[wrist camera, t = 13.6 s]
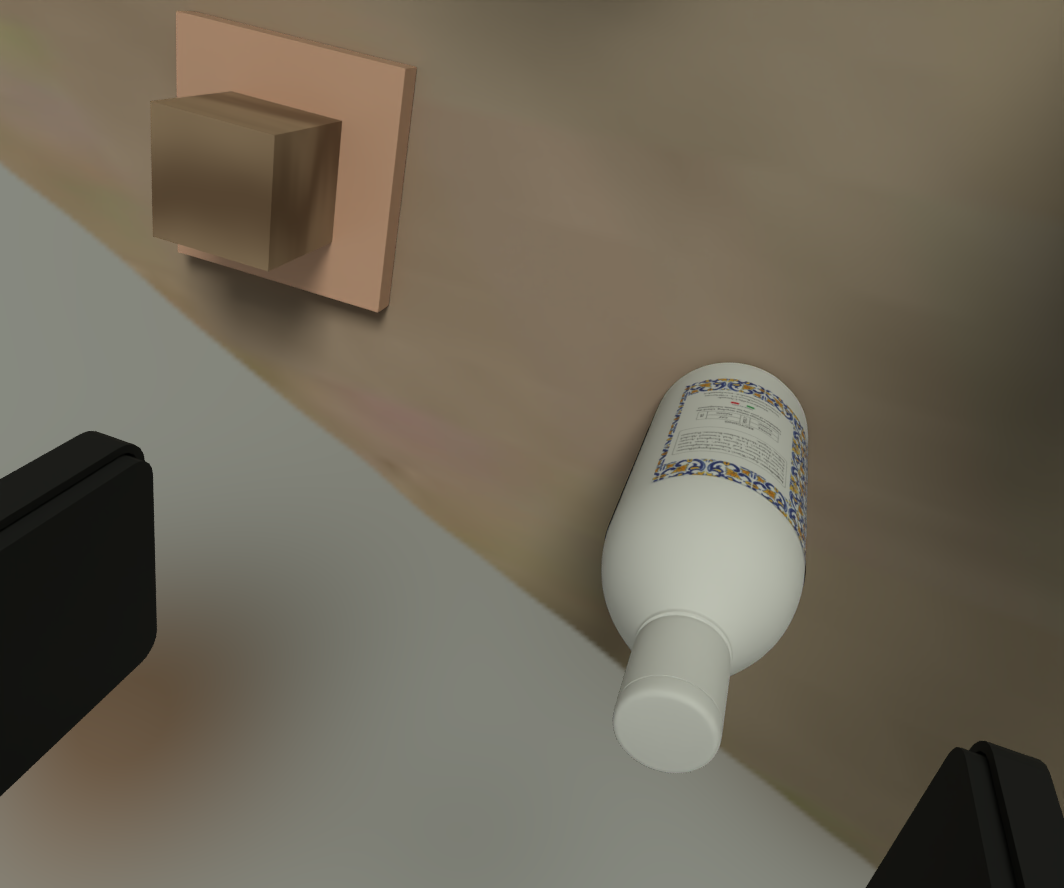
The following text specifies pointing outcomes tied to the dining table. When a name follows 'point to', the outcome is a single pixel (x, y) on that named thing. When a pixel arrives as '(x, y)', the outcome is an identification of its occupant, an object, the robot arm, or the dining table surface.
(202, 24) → the terracotta tile
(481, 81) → the dining table surface
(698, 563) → the bath foam
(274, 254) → the walnut cube
